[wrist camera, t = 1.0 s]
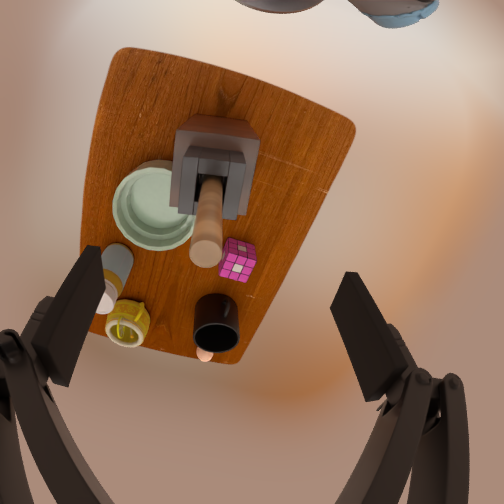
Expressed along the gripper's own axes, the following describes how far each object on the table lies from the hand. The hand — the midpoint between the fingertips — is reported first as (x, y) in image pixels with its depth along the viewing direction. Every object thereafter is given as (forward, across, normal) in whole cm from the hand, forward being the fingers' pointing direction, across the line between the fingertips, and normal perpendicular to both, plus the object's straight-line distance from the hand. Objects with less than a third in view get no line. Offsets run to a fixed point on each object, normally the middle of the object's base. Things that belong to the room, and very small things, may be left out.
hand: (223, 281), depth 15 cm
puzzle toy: (+39, +6, -22) cm, 45 cm away
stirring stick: (+19, -1, 0) cm, 19 cm away
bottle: (+39, -19, -26) cm, 51 cm away
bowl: (+39, -10, -12) cm, 42 cm away
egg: (+39, +1, -52) cm, 65 cm away
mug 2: (+39, +4, -37) cm, 54 cm away
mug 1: (+39, -18, -42) cm, 60 cm away
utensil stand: (+39, -1, 0) cm, 39 cm away
